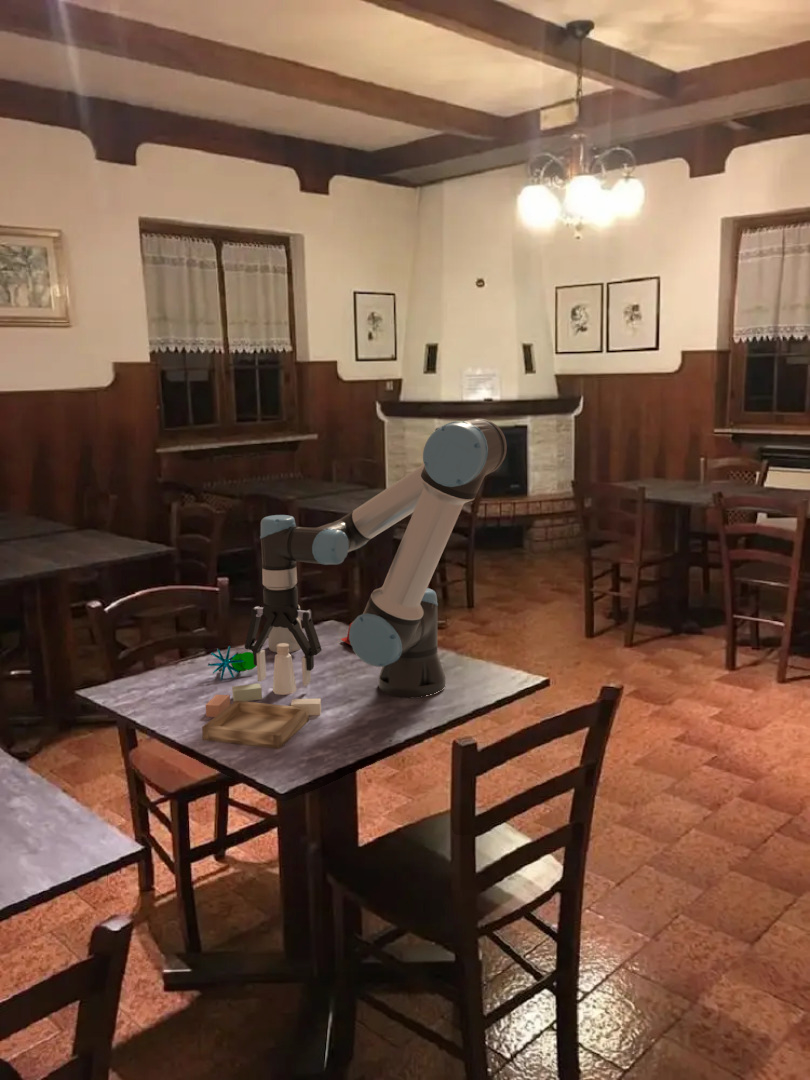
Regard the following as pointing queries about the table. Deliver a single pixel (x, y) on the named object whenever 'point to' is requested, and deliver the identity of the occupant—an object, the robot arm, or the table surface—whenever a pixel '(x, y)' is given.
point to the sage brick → (247, 692)
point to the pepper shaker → (283, 671)
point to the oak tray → (256, 724)
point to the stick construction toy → (234, 662)
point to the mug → (283, 638)
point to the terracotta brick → (217, 705)
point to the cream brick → (308, 705)
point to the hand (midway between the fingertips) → (284, 681)
